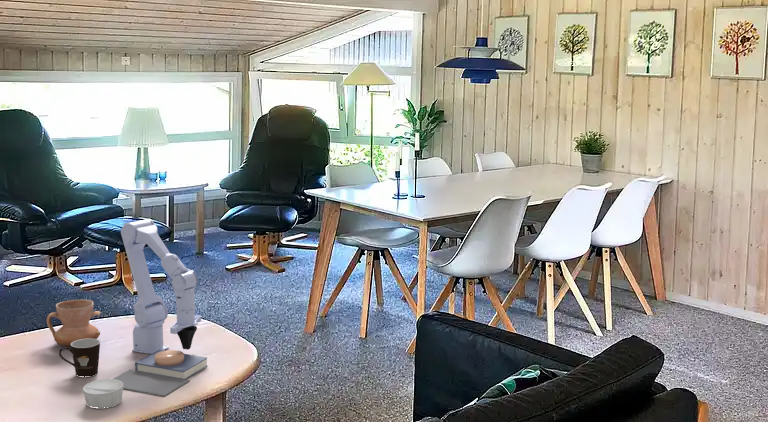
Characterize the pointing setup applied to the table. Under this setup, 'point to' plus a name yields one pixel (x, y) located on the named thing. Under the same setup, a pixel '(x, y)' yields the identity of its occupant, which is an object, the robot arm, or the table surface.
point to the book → (181, 371)
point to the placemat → (150, 382)
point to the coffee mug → (84, 356)
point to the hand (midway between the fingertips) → (186, 348)
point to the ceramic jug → (74, 321)
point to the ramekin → (103, 393)
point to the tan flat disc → (169, 358)
